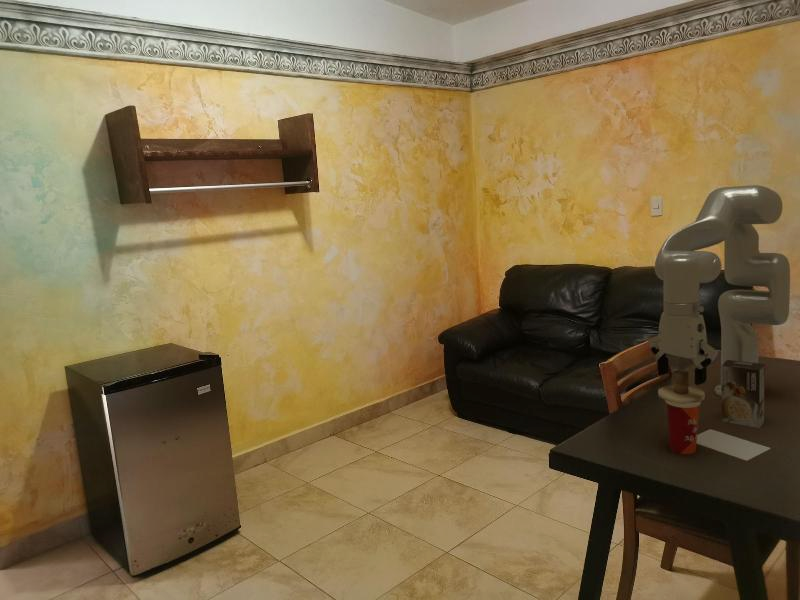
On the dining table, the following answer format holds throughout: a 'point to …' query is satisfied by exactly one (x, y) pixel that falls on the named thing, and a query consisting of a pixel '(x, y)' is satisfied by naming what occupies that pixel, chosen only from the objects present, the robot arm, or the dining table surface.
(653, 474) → the dining table surface
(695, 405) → the paper cup
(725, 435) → the mat
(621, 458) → the dining table surface
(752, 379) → the coffee box
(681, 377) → the lid
